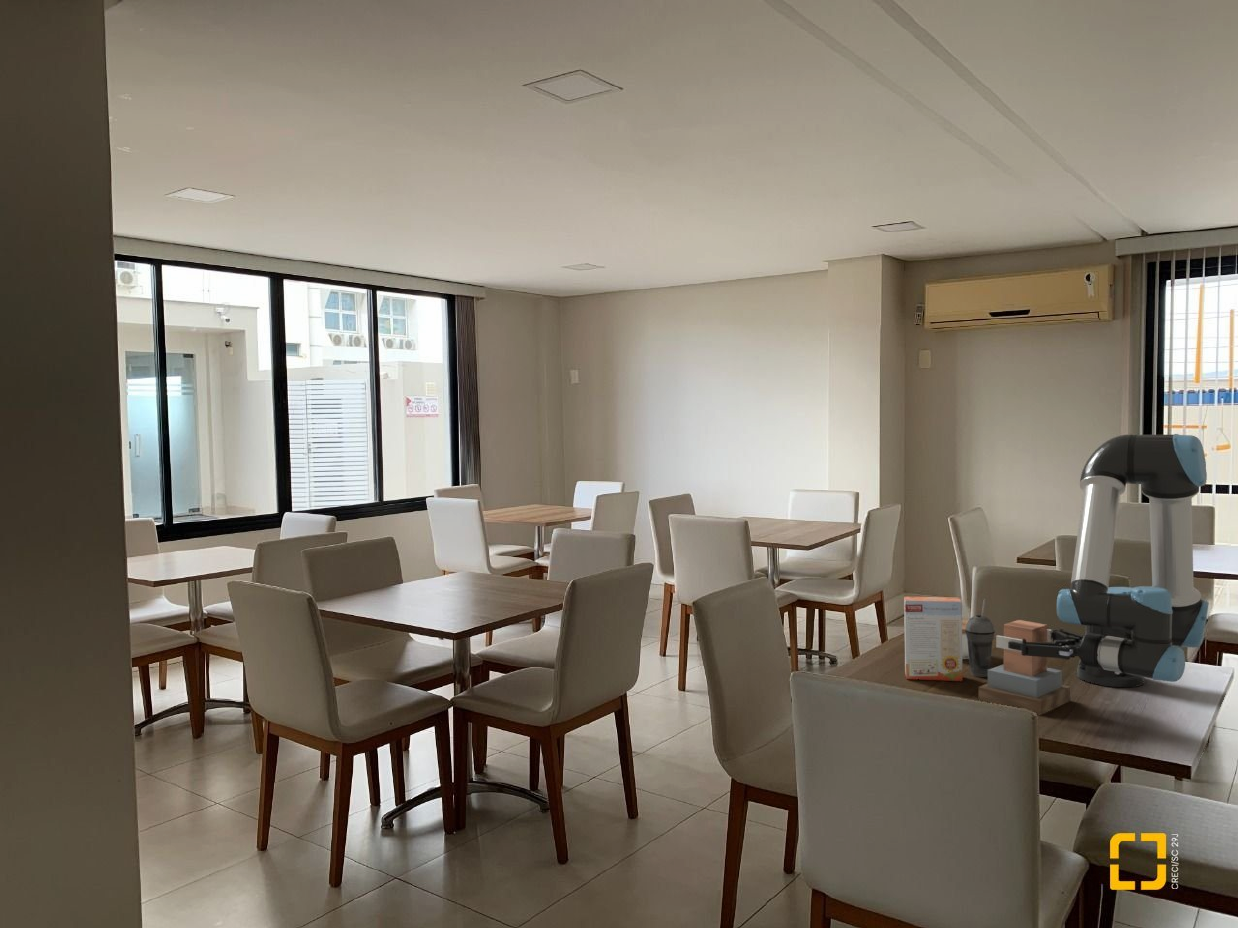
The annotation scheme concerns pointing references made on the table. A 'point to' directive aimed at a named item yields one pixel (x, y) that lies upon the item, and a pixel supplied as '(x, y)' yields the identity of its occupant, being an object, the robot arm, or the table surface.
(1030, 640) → the terracotta pillar block
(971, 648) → the beverage cup
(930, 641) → the cracker box
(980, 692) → the walnut base slab
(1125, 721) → the table surface
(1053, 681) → the slate top tile
